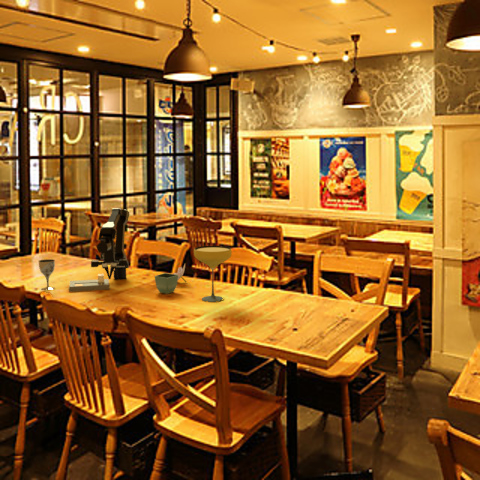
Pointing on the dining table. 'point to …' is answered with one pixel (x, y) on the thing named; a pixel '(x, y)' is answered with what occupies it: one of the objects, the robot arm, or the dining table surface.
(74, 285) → the console
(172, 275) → the flower pot
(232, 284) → the dining table surface
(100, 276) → the fader
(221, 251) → the cocktail glass
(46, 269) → the wine glass
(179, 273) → the water lily
